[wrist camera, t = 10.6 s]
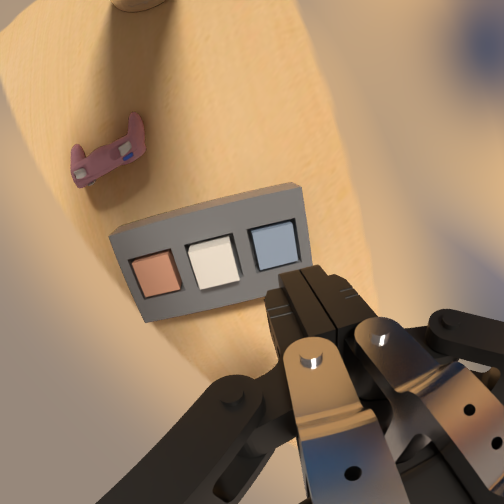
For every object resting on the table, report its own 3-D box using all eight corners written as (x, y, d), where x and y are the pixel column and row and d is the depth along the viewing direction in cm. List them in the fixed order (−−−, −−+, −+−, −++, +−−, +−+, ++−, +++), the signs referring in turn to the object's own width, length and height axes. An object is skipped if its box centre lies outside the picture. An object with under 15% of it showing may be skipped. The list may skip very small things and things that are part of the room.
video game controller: (88, 171, 29) (75, 202, 25) (71, 144, 26) (53, 172, 21) (153, 137, 29) (150, 163, 25) (139, 106, 26) (131, 126, 21)
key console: (119, 226, 31) (108, 236, 27) (291, 182, 32) (301, 186, 28) (150, 306, 36) (145, 322, 32) (305, 269, 37) (314, 283, 33)
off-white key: (190, 244, 30) (188, 252, 28) (228, 234, 30) (230, 242, 28) (201, 279, 32) (200, 289, 30) (237, 270, 32) (239, 280, 30)
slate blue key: (249, 226, 32) (252, 233, 29) (286, 218, 32) (292, 223, 29) (257, 261, 33) (260, 270, 31) (292, 252, 33) (298, 260, 31)
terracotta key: (137, 255, 31) (131, 263, 29) (170, 246, 31) (167, 254, 29) (149, 287, 33) (145, 297, 30) (182, 279, 33) (180, 289, 31)
